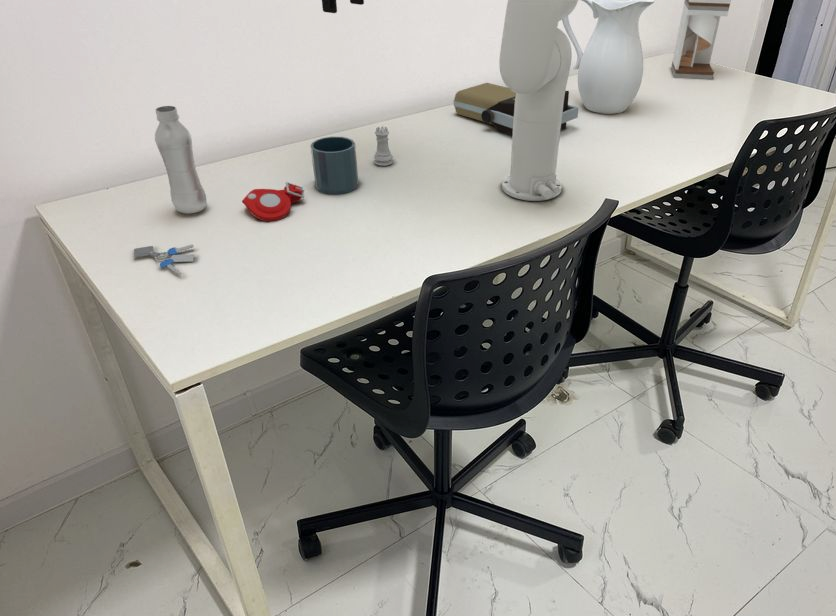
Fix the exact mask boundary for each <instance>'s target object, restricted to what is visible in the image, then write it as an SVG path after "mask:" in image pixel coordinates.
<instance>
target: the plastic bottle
mask: <svg viewBox="0 0 836 616" xmlns="http://www.w3.org/2000/svg"><path fill="white" fill-rule="evenodd" d="M155 115H156V121H157V122H159V123H158V125H157V128H156V130H155V131H154V142H155V145H156V147H157V149H158V151H159V154H160V156H161V159H162V162H163V163H164V167H165V170H166V173H167V177H168V178H167V179H168V184H169V189H170V190H169V193H170V201H171V203H172V205H173V207H174V210H177V211H178V212H179V213H182V214H187V215H189V214H195V213H199V212H202V211H203V210H204V209H205V208H206V206H207V194H206V192H205V190H204V188H203V185H202V183H201V181H200V178H199V174H198V171H197V168H196V163H195V158H194V157H195V156H194V151H193V140H192V135H191V133H190V131H189V130H188V128H187V127H186V126H185V125H184V124H182V123H181V122H180V121H179V119H180V115H179V114H178V110H177V107H176V106H174V105H163V106H159V107H157V108H155Z"/></svg>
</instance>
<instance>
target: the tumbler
mask: <svg viewBox="0 0 836 616" xmlns="http://www.w3.org/2000/svg"><path fill="white" fill-rule="evenodd" d="M309 147H310V154H311V162H312V169H313V175H314V176H313V178H314V184H315V189H316V190H317V191H319V192H320V193H323V194H328V195H342V194H349V193H350V192H353V191H355V190H357V188H358V187H359V172H358V160H357V150H356V148H357V147H356V143H355V141H354V140H353V139H351V138H349V137H346V136H345V137H344V136H325V137H321V138H318V139H316V140H314V141H312V142H311V144H310V146H309Z"/></svg>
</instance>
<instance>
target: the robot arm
mask: <svg viewBox="0 0 836 616" xmlns="http://www.w3.org/2000/svg"><path fill="white" fill-rule="evenodd" d="M349 2H350V4H353V5H359V6H360V5H364V4H365V0H349ZM578 2H579V0H507V3H506V9H505V17H504V23H503V30H502V35H501V36H502V38H501V44H500V49H499V61H498V64H499V65H498V68H499V74H500V77H501V80H502V81H503V83H504V86H505V87H507V88H509V89H510V90H511V91H513V92H515V93H516V97H515V107H514V121H513V136H512V135H511V137H512V138H511V140H512V141H511V152H510V153H511V154H510V169H509V175H508V176H506V177H505V178H504V179H503V180H502V182H501V189H502V191H503V192H504V193H505V194H506V195H508V196H510V197H512V198H513V199H518V200H522V201H527V202H528V201H529V202H541V201H547V200H551V199H554V198H557V196H559V195H560V194H561V193H562V188H563V185H562V182H561V181H560V180H559V179H558V178H557V163H558V155H559V146H560V138H561V130H560V128H561V119H562V112H563V104H564V96H565V91H567V85H568V80H569V76H570V71H571V66H572V59H573V58H572V57H573V52H572V46H571V41H570V38H569V36H568V35H567V34H566V33H565V32H564V31H563V30H562V29H560V28H558V27H559V22H560V21H562V19H564V18H565V17H567V16H568V17H569V15H570V14H572V12H573V11H574V10H575V9H576V7H577V4H578ZM321 6H322V7H321V8H322V12H324V13H329V14H337V12H338V7H337V0H321Z"/></svg>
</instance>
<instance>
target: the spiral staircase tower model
mask: <svg viewBox="0 0 836 616" xmlns="http://www.w3.org/2000/svg"><path fill="white" fill-rule="evenodd" d="M731 2H732V0H684V2H683V7H682V12H681V17H680V23H679V27H678V32H677V37H676V43H675V47H674V52H673V57H672V63H671V67H670V69H671V72H672V75H673V78H678V79H680V78H681V79H696V80H697V79H699V80H713V78H714V74H715V71H714V70H713V68H712V66H711V65H710V63H711V58H712V55H713V50H714V46H715V42H716V37H717V34H718V29H719V24H720V20H721V17H728V14H729V11H730V6H731Z"/></svg>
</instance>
